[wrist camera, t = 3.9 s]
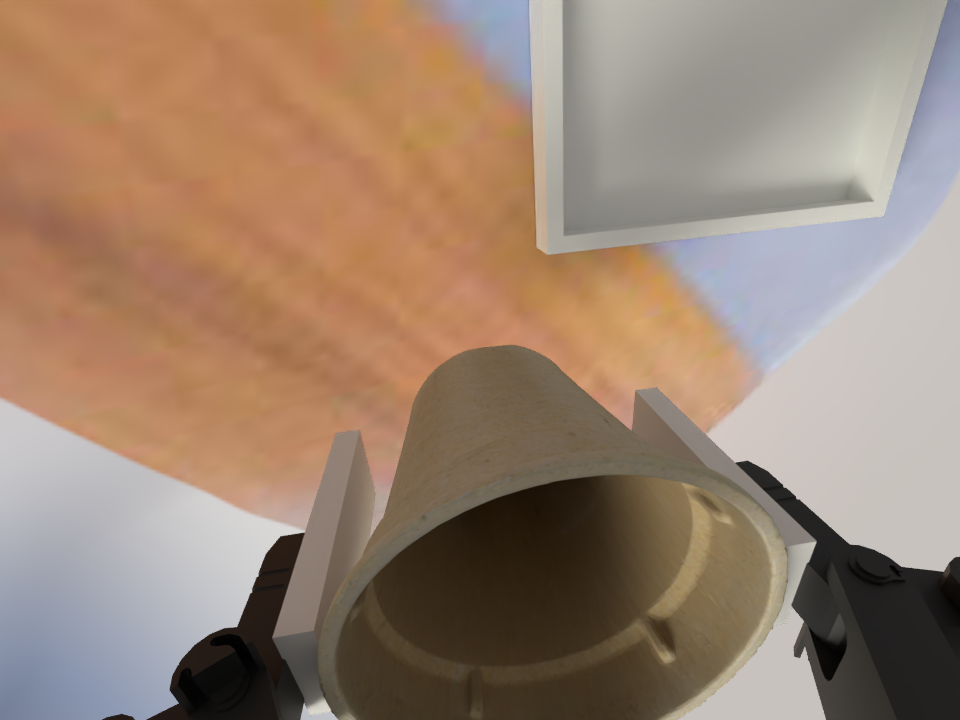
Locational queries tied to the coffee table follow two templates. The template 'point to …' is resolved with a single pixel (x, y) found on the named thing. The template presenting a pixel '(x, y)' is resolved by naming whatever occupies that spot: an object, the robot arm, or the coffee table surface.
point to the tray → (719, 114)
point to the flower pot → (546, 564)
